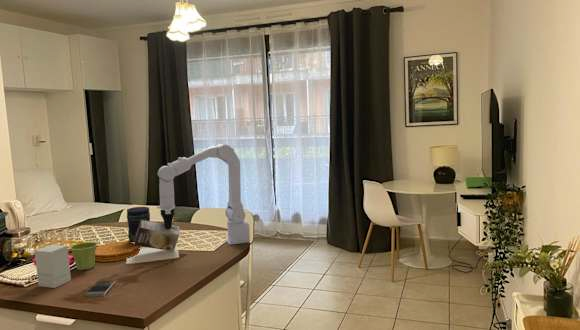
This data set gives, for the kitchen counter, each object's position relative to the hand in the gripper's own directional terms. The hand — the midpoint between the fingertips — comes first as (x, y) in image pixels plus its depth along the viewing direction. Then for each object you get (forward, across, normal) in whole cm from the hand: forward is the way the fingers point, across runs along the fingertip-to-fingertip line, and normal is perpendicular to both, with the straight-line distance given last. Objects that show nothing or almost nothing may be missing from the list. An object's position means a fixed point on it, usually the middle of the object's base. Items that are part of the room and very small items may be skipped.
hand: (168, 227), depth 178 cm
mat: (+11, 0, -6) cm, 12 cm away
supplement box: (+12, +20, -39) cm, 45 cm away
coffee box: (+5, 0, +4) cm, 6 cm away
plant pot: (+12, +7, -31) cm, 34 cm away
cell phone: (+12, +32, -23) cm, 41 cm away
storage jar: (+11, -22, -12) cm, 27 cm away
